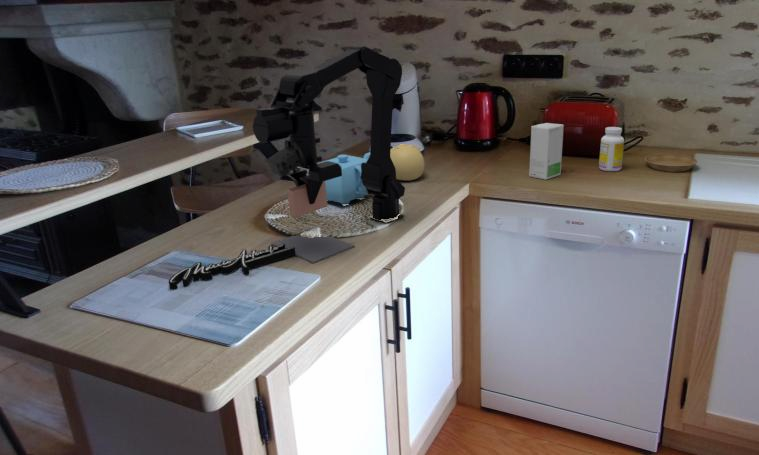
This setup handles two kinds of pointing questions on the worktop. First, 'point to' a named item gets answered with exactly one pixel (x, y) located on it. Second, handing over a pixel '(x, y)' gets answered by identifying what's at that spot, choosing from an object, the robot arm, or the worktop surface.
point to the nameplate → (231, 265)
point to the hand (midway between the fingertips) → (308, 202)
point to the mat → (315, 247)
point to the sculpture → (407, 161)
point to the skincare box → (546, 150)
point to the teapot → (347, 180)
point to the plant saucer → (670, 162)
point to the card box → (305, 200)
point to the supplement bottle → (611, 150)
